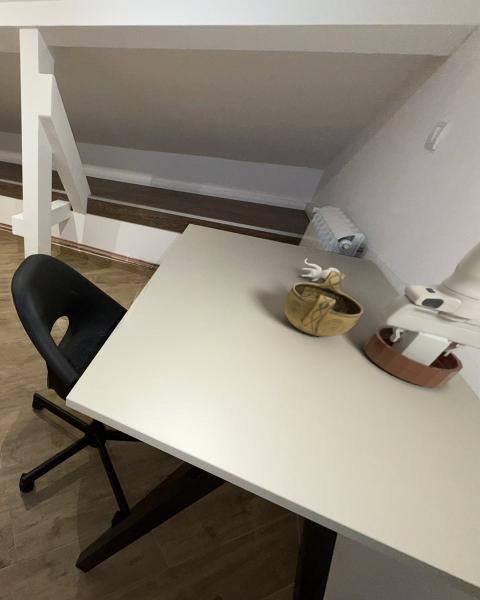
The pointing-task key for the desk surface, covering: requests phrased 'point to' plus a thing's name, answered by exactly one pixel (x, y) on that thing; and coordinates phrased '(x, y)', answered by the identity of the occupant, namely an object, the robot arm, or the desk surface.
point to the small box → (421, 346)
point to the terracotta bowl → (409, 361)
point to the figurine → (317, 272)
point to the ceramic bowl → (322, 307)
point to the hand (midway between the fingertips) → (416, 347)
